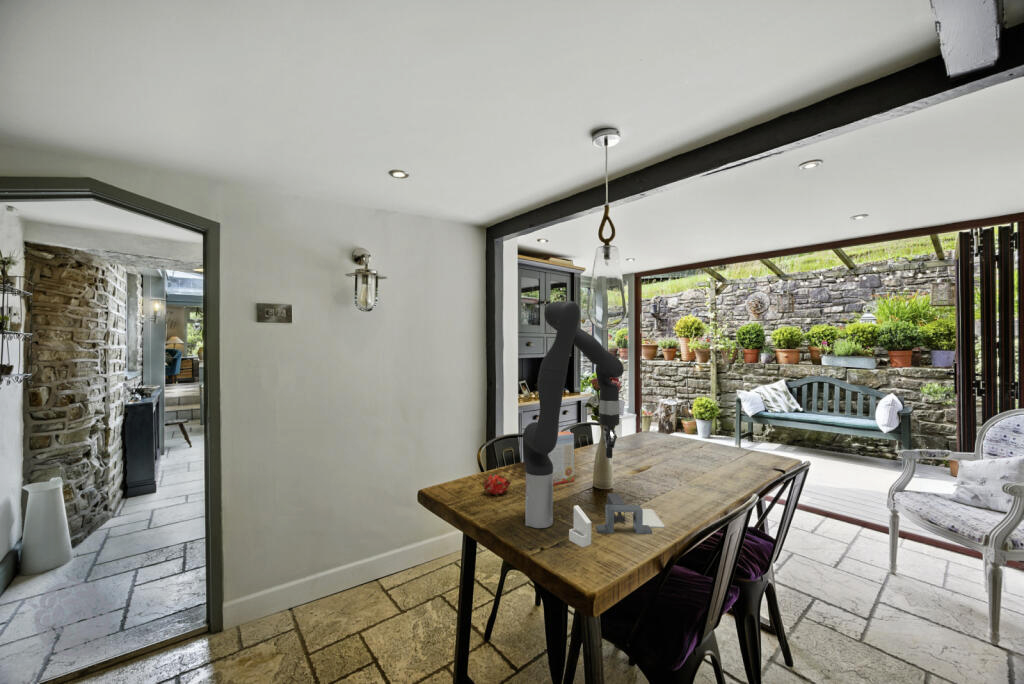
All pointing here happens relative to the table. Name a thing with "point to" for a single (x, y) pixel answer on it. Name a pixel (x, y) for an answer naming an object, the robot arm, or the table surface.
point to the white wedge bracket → (580, 528)
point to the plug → (616, 500)
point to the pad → (651, 519)
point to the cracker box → (563, 458)
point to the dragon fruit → (496, 484)
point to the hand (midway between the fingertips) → (609, 457)
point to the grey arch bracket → (636, 510)
